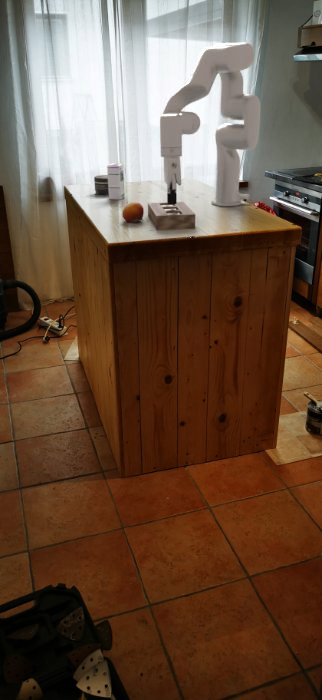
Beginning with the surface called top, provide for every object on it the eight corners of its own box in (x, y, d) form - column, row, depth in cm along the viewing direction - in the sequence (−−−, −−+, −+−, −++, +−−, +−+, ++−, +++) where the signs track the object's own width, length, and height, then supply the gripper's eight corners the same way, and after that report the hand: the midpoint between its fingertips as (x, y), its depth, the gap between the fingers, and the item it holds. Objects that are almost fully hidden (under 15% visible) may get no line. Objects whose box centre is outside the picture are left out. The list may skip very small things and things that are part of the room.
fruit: (140, 221, 204) (130, 201, 203) (125, 230, 209) (115, 210, 208) (152, 217, 210) (142, 197, 209) (137, 225, 215) (128, 206, 214)
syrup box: (121, 199, 246) (120, 165, 240) (108, 199, 247) (106, 164, 241) (124, 197, 251) (123, 163, 245) (112, 196, 252) (110, 163, 246)
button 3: (178, 218, 204) (179, 212, 203) (181, 221, 200) (181, 214, 199) (166, 218, 203) (166, 212, 202) (168, 221, 199) (168, 215, 198)
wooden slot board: (183, 214, 219) (183, 201, 217) (195, 228, 200) (195, 214, 198) (148, 216, 217) (147, 203, 215) (156, 230, 198) (156, 215, 196)
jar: (101, 190, 265) (101, 174, 262) (120, 192, 261) (119, 175, 258) (90, 194, 257) (89, 177, 254) (109, 196, 253) (109, 178, 250)
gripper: (185, 154, 192) (185, 208, 200) (177, 148, 205) (178, 198, 213) (164, 155, 191) (165, 209, 199) (157, 149, 204) (158, 200, 212)
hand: (171, 203), depth 206 cm, fingers closed
